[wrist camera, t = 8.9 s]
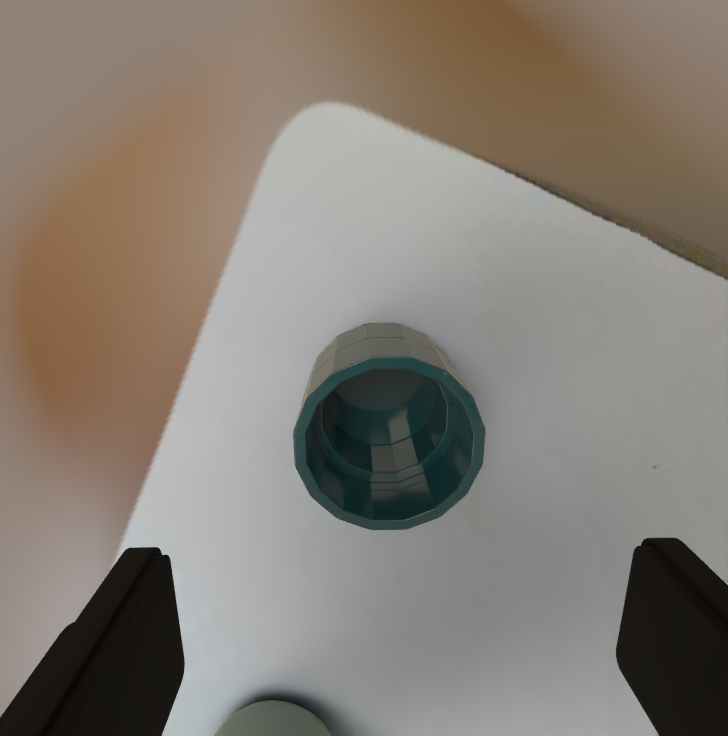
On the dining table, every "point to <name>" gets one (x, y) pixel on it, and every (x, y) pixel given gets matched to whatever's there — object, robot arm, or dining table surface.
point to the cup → (273, 721)
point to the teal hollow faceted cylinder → (387, 429)
